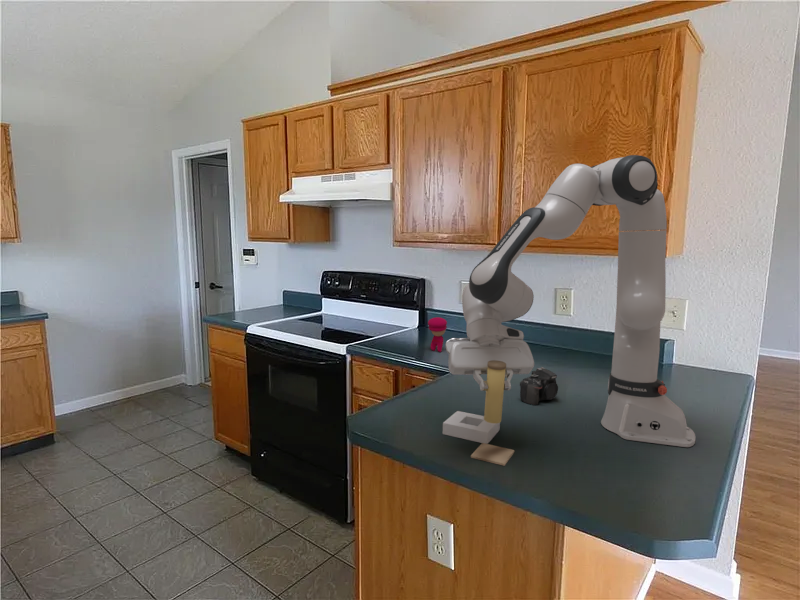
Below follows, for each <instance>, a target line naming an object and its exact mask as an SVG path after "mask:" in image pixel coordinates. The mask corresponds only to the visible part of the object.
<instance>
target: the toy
mask: <svg viewBox="0 0 800 600" xmlns="http://www.w3.org/2000/svg"><path fill="white" fill-rule="evenodd" d="M427 325H428V330H429V331H431V333H432V335H434V336H432V339H431V343H430V350H431V351H433V352H434V351H436V349H437V352H439V353H441V352H442V351H443V345H444V337H443V335H444V334H445V332H446V330H447V328H448V327H447V325H448V321H447V320H446V319H445V318H443V317H439V316H438V317H432V318H430V319H428V321H427Z"/></svg>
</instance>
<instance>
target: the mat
mask: <svg viewBox="0 0 800 600" xmlns="http://www.w3.org/2000/svg"><path fill="white" fill-rule="evenodd" d="M514 454H515V450H514V449H511V448H506V447H504V446H503V447H502V446H498V445H493V444H489V443H488V444H485V443H481V444H480V445H478V447H477V448H476V449H475V450H474V451H473V453H471V455H470V458H471V459H475V460H479V461H482V462H483V461H484V462H487V463H491V464H496V465H500V466H503V467H504V466H505V467H506V465H507V463H508V462H509V461H510V459H511V457H512V456H513V455H514Z"/></svg>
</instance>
